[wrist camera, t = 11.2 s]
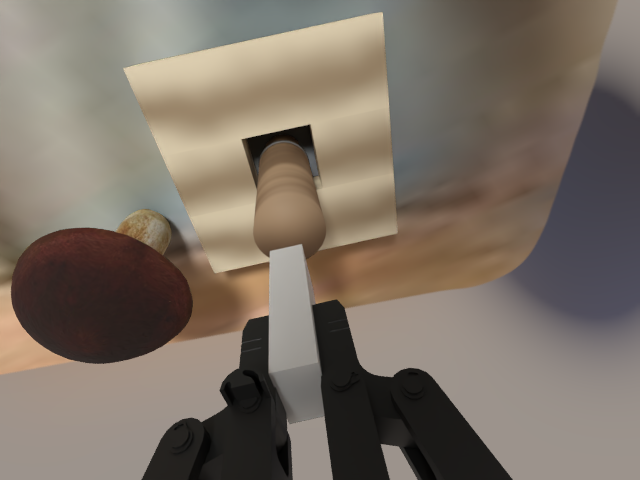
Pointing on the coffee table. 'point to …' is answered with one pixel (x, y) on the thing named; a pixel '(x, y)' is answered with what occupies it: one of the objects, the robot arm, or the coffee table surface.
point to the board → (276, 129)
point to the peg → (287, 199)
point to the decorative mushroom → (102, 290)
